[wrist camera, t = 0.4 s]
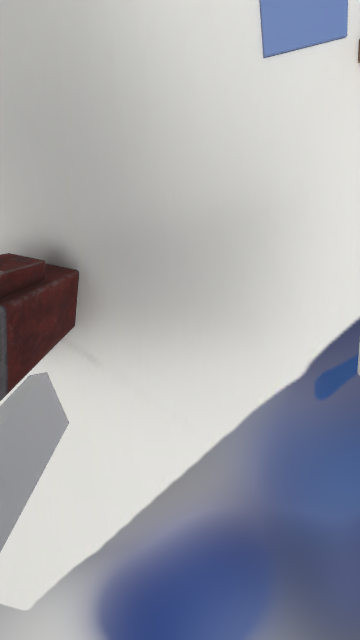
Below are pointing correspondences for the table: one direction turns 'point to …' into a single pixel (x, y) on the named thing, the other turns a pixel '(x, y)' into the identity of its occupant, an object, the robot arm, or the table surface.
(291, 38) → the pad
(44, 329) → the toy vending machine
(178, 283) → the table surface
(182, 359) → the table surface
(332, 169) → the table surface
